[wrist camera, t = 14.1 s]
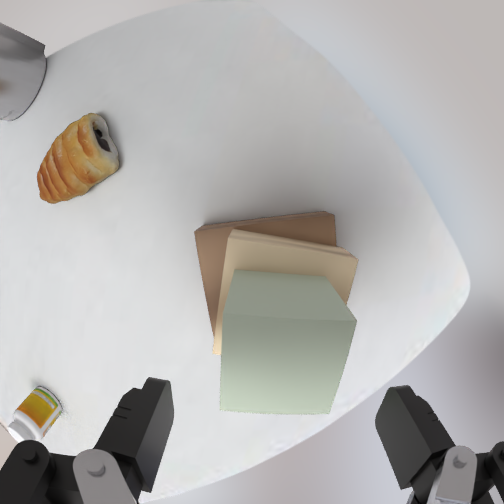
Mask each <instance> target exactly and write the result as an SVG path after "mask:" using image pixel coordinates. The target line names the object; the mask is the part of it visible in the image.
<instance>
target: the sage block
mask: <svg viewBox="0 0 504 504" xmlns="http://www.w3.org/2000/svg"><path fill="white" fill-rule="evenodd" d="M356 322H357V320H356V319H355V317H354V316H353V314H352V313H351V311H350V310H349V309H348V307H347V306H346V304H345V303H344V301H343V300H342V299H341V297H340V296H339V294H338V293H337V292H336V290H335V289H334V287H333V286H332V285H331V283H330V282H329V280H328V279H327V278H326V276H313V275H299V274H286V273H273V272H260V271H248V270H236V269H235V270H234V273H233V277H232V281H231V284H230V288H229V292H228V296H227V299H226V303H225V307H224V311H223V321H222V346H221V377H220V410H222V411H232V412H244V413H260V414H329V413H330V410H331V407H332V404H333V401H334V398H335V395H336V392H337V389H338V386H339V383H340V380H341V377H342V374H343V370H344V367H345V364H346V360H347V357H348V353H349V349H350V346H351V342H352V338H353V334H354V331H355V327H356Z"/></svg>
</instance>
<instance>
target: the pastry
mask: <svg viewBox="0 0 504 504" xmlns="http://www.w3.org/2000/svg"><path fill="white" fill-rule="evenodd" d="M118 167H119V160H118V151H117V148H116V146H115V145H114V143H113V141H112V139H111V138H110V137H109V134H108V127H107V124H106V122H105V120H104V119H103V118H102V117H101V116H99V115H97V114H94V113H89V114H88V115H85V116H83V117H82V118H81V119H80V120H78V121H75V122H73V123H71V124H70V125H69V126H68V127H67V128H66V129H65V131H64V132H63V133H61V134H60V135H59V136H58V137H57V138H56V139H55V141H54V142H53V144H52V145H51V148H50V149H49V151H48V152H47V155H46V156H45V158H44V160H43V162H42V163H41V165H40V169H39V171H38V173H37V181H38V187H39V190H40V198H41V199H42V200H45V201H47V202H48V203H52V204H55V203H57V202H60V201H67V200H70V199H72V198H74V197H76V196H81V195H84V194H85V193H87V192H88V190H89V189H90V188H91V187H92V186H94V185H95V184H98V183H99V182H102V181H103V180H104V179H105V178H107V177H108V176H109V175H111V174H114V173H115V172H116V171H117V170H118Z"/></svg>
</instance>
